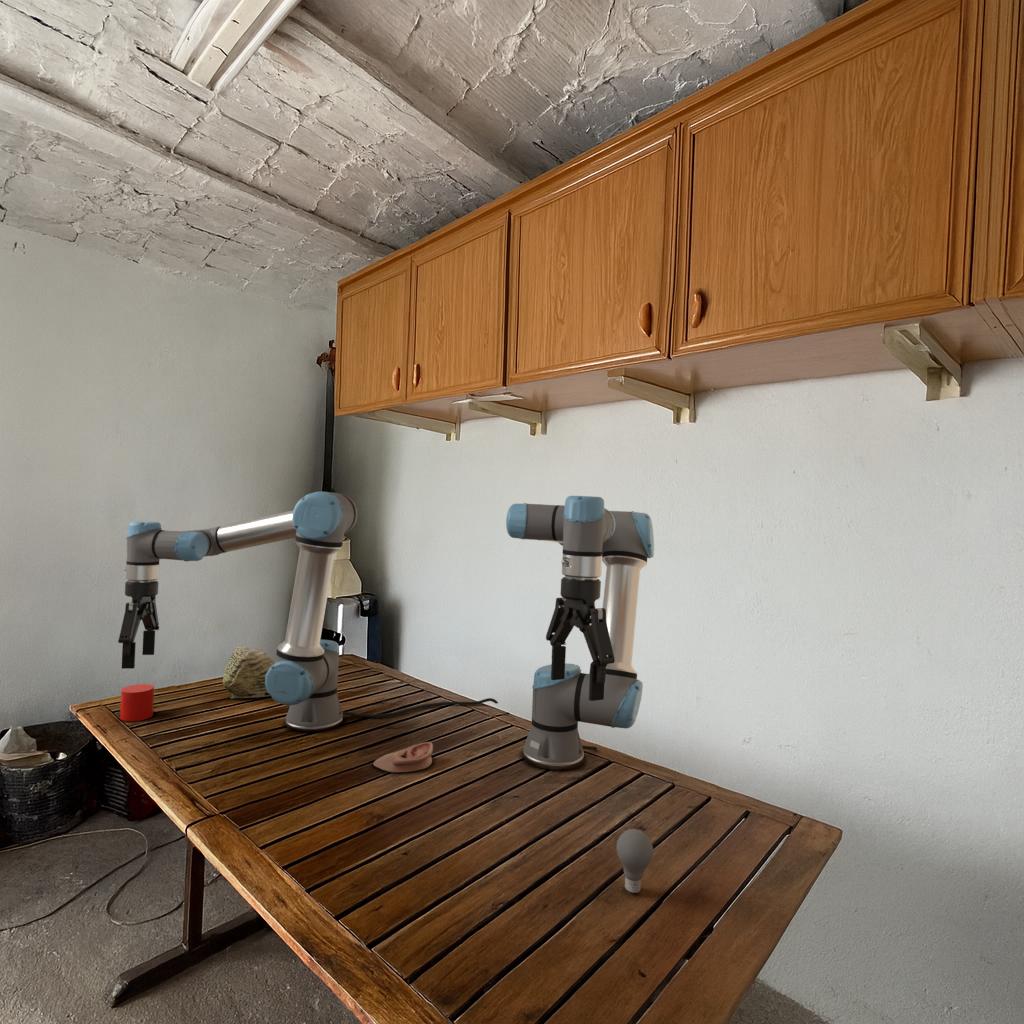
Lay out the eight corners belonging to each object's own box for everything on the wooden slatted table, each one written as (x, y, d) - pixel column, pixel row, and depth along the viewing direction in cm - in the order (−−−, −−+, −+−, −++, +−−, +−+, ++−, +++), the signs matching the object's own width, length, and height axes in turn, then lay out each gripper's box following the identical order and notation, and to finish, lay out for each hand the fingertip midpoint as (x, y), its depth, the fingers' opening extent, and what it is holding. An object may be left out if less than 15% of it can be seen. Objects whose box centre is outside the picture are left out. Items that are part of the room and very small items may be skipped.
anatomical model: (368, 752, 148) (387, 734, 159) (367, 769, 148) (386, 750, 159) (422, 759, 145) (438, 741, 156) (421, 776, 145) (437, 757, 156)
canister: (114, 720, 171) (114, 692, 171) (130, 711, 179) (131, 683, 179) (143, 721, 172) (144, 692, 172) (158, 711, 180) (159, 684, 179)
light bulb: (610, 879, 108) (613, 822, 108) (644, 879, 109) (647, 822, 109) (619, 902, 102) (622, 840, 102) (655, 901, 103) (658, 840, 103)
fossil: (218, 695, 195) (220, 647, 195) (278, 685, 208) (279, 640, 207) (228, 703, 189) (230, 653, 188) (289, 692, 201) (290, 645, 201)
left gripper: (144, 574, 177) (141, 649, 177) (105, 587, 153) (101, 674, 153) (173, 574, 178) (170, 649, 179) (139, 587, 154) (135, 674, 154)
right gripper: (532, 569, 129) (527, 673, 130) (602, 587, 107) (596, 712, 107) (563, 569, 133) (559, 670, 133) (638, 586, 110) (632, 707, 111)
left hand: (138, 661), depth 166 cm, fingers open, 13 cm apart
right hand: (575, 689), depth 120 cm, fingers open, 13 cm apart
